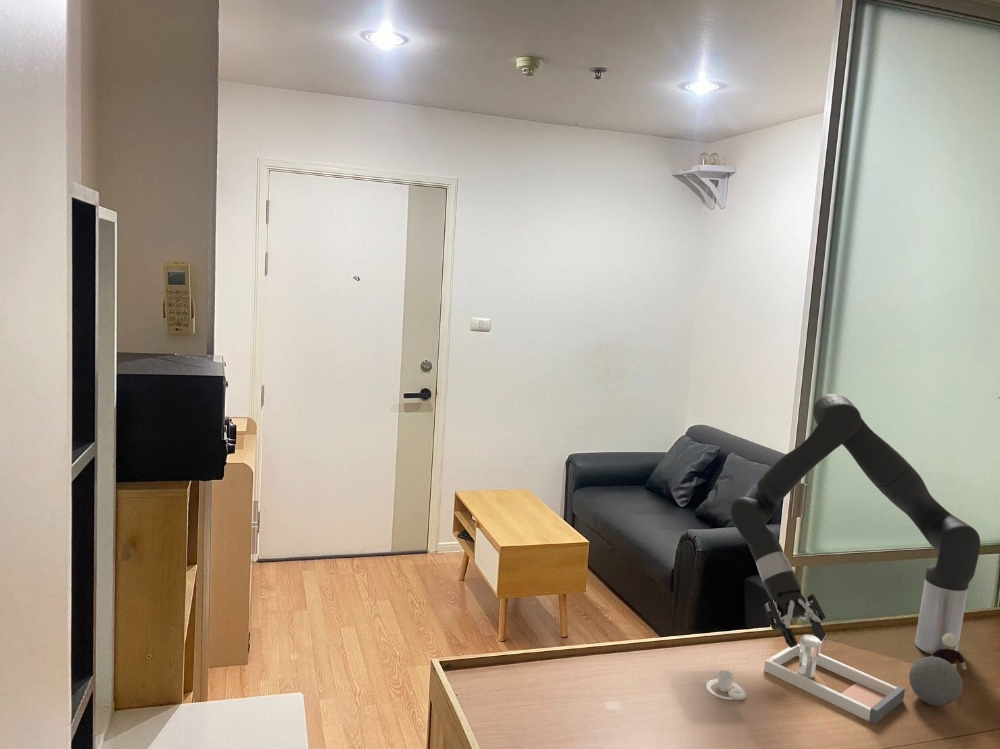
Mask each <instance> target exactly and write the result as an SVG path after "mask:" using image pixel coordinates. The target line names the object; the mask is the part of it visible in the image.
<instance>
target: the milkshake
mask: <svg viewBox="0 0 1000 749" xmlns="http://www.w3.org/2000/svg"><path fill="white" fill-rule="evenodd" d="M826 637H827V635H826V636H825V637H824V639H825V638H826ZM824 639H823V640H824ZM826 639H827V638H826ZM823 640H822V642H821V641H820V640H819V639H818V638H817V637H815V635H814V634H804V635H802V636H801V637H800V638H799V644H800V657H799V660H798V662H799V663H798V674H800V675H802V676H805V677H807V678H809V679H811V678H814V677H815V672H816V668H817V665H816V664H817V660H818V656H819V653H821V649H822V643H823V642H824V641H825V640H824V641H823Z"/></svg>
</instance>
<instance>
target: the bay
mask: <svg viewBox="0 0 1000 749" xmlns="http://www.w3.org/2000/svg"><path fill="white" fill-rule="evenodd" d="M795 657H799V658H800V643H798V645H797V646H795V647H792V648H790V647H789V646H788V647H786V648H784V649H783V650H781V651H779V652H778V653H775V654H774V655H772V656H771V657H769V658H767V659H765V661H764V669H763V671H764V672H766V673H769V674H770V675H772V676H774V677H776V678H778V679H779V680H783V681H785V682H786V683H789V684H791V685H792V686H795V687H797V688H799V689H801V690H804V691H805V692H808V693H810V694H812V695H814V696H815V697H818V698H820V699H822V700H824V701H826V702H828V703H830V704H833V705H834V706H836V707H838V708H840V709H843V710H845V711H846V712H849V713H851V714H853V715H854V716H857V717H859V718H861V719H863V720H865V721H867V722H869V723H871V724H874V725H876V724H877V723H878V722H880V721H881V720H882V719H883V718H884V717H886V716H887V715H888V714H889V713H891V712H892V711H894V710H895V708H896V707H898V706H899V705H900V704H902V703H904V699H905V692H906V688H905V687H903V686H900V685H898V686H895V685H892V684H891V683H889V682H886V681H884V680H882V679H880V678H876V677H874V676H873V675H871V674H869V673H866V672H863V671H860V670H859V669H856V668H855V667H852V666H849V665H847V664H845V663H843V662H840V661H838V660H836V659H834V658H831V657H829V656H827V655H825V654H823V653H821V652H819V656H818V660H817V664H816V666H819V667H821V668H824V669H825V670H828V671H829V672H833V673H834V674H836V675H839V676H841V677H842V678H845V679H847V680H850V681H852V682H855V683H854V684H852V685H851V686H850V687H848V688H846V689H845V690H843V692H841V693H840V692H839V691H836V690H834V689H832V688H830V687H827V686H825V685H823V684H821V683H820V682H817V681H815V680H813V679H811V678H807V677H805V676H802V675H800V674H799V672H795V671H793V670H792V669H790V668H787V667H786V666H784V665H783V664H785V663H787V662H788V661H790V660H791V659H794V658H795Z"/></svg>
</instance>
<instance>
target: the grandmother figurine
mask: <svg viewBox="0 0 1000 749" xmlns="http://www.w3.org/2000/svg"><path fill="white" fill-rule="evenodd" d="M942 643H943V644H944V646H945V647H946V649H938V650H936V651H935V652H934V653H933V654H931V656H933V657H939V658H942V659H944V660H946V661H948V662H949V663H951V664H952V665H953V666H954V667H955V668H956V669H957V661H958V663H959V664H960V667H961V669H962V670H964V671H965V670H967V666H966V665H967V664H966V661H965V659H964V657H963V655H962V654H961V653H960V652H959V651H956V650H954V649H955V648H956V647H957V646H958V647H959V645H960V639H959V640H958V637H957V636H956V635H955V634H951V633H948V634H945V635H944V636H943V637H942ZM958 644H959V645H958Z"/></svg>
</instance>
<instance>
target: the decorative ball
mask: <svg viewBox="0 0 1000 749" xmlns="http://www.w3.org/2000/svg"><path fill="white" fill-rule="evenodd" d="M908 678H909V684H910V687H911V689H912V691H913V693H914V694H915V695H916V696H917V698H918V699H920V700H922V701H923V702H924V703H926V704H928V705H932V706H935V707H946V706H949V705H952V704H954V703H955V702H956V701H957V700H958V699H959V698H960V696H961V695H962V690H963V680H962V678H961V674H960V673H959V671H958V670H957V667H956V668H955V667H954V666H953V665H952V664H951V663H949V662H948V661H946V660H944V659H942V658H939V657H933V656H932V655H930V656H924V657H921V658H919V659H918V660H916V661H915V662H914V663H913V664H912V665H911V668H910V670H909V674H908Z"/></svg>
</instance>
